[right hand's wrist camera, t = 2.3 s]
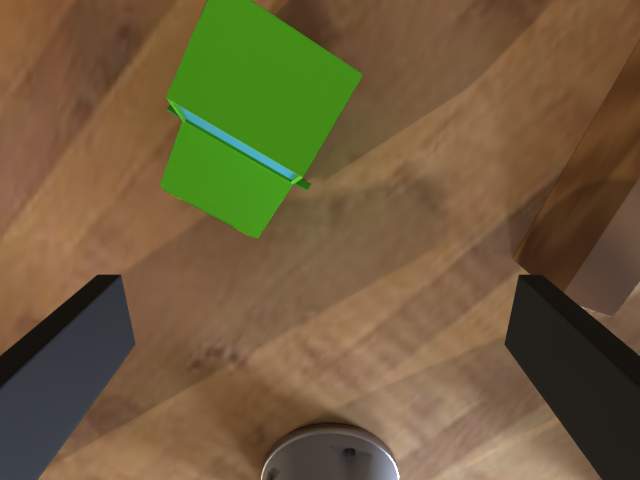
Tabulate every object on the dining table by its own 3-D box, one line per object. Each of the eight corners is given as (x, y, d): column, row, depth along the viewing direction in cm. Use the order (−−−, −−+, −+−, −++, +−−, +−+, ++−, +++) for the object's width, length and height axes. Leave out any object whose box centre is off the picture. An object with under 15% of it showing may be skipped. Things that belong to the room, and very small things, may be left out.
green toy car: (165, 168, 31) (100, 203, 22) (238, 6, 27) (196, -36, 18) (276, 229, 33) (259, 284, 24) (361, 86, 29) (380, 86, 20)
